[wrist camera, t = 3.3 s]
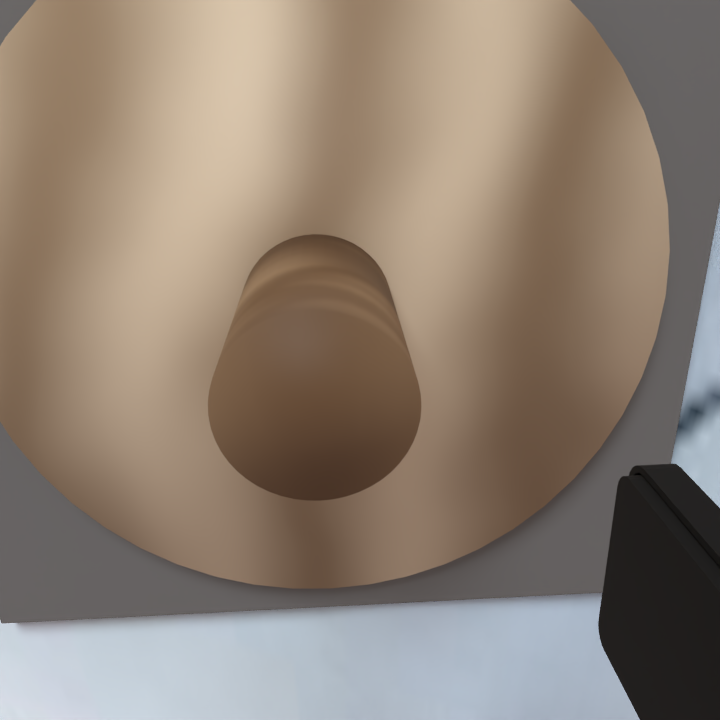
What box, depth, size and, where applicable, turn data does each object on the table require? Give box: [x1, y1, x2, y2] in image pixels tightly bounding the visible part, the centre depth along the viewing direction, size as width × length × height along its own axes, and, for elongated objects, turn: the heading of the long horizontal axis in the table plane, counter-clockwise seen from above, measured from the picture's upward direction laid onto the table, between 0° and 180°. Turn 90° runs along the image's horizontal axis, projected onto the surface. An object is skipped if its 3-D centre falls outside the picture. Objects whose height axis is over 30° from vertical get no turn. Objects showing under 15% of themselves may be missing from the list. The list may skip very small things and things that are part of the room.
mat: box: [0, 0, 720, 623], centre depth 20 cm, size 22×22×1 cm
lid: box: [0, 0, 670, 589], centre depth 16 cm, size 19×19×7 cm
